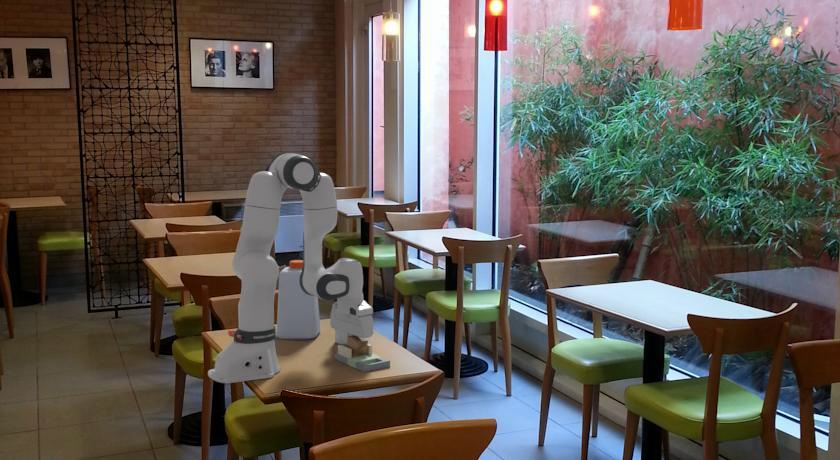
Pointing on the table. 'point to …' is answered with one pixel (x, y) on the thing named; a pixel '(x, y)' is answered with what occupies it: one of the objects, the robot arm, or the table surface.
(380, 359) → the grey tray
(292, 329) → the plastic bottle
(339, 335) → the milk bottle
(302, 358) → the table surface
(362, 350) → the block
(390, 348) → the table surface
